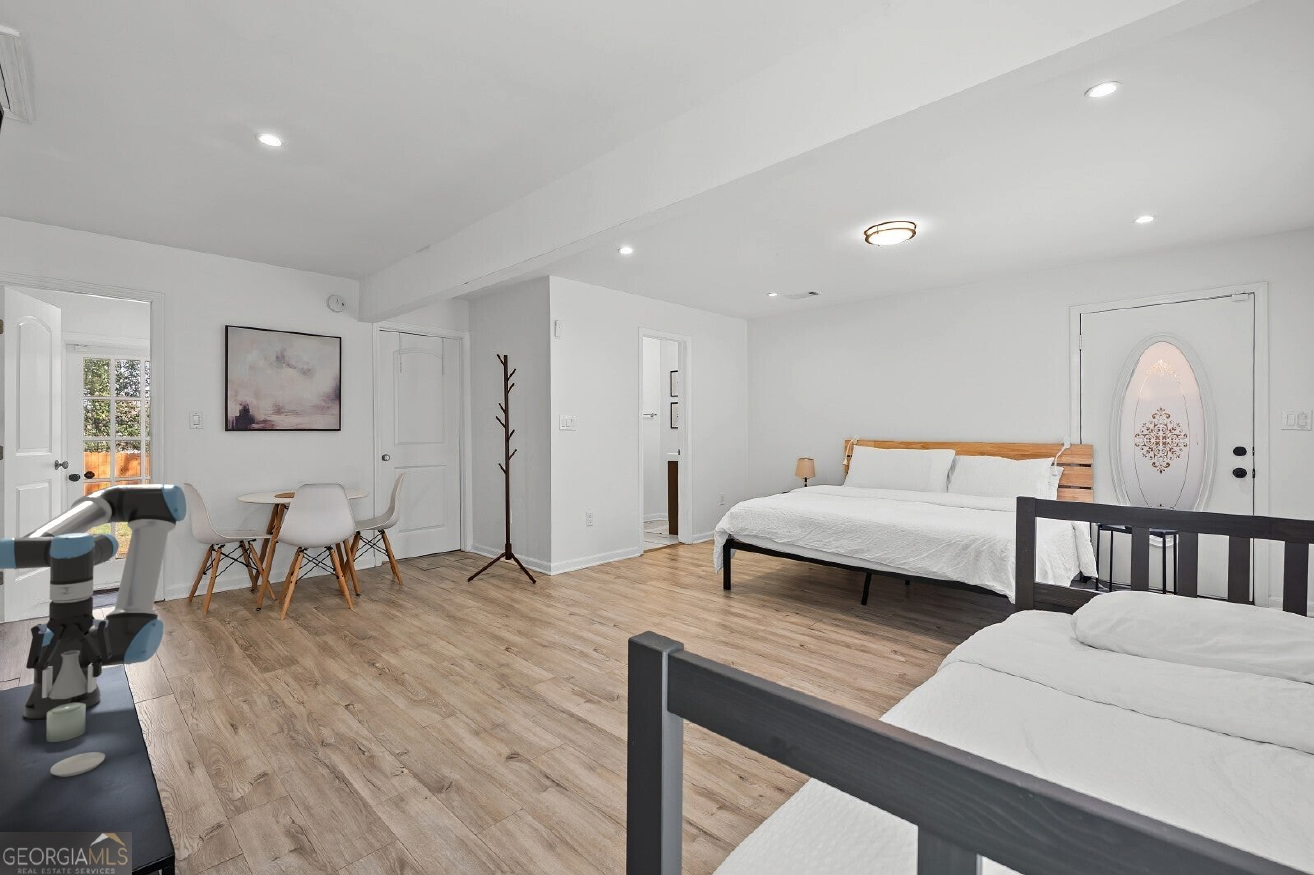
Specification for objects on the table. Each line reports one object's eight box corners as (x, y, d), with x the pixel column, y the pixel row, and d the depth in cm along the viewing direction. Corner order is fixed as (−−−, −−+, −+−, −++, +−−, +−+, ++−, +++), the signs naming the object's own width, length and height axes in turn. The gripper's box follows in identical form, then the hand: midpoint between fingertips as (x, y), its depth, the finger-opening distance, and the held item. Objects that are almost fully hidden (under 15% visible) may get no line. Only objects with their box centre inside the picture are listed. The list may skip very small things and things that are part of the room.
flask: (64, 702, 140) (64, 660, 140) (40, 698, 142) (40, 656, 142) (98, 689, 147) (99, 649, 147) (75, 686, 149) (76, 646, 149)
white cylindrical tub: (54, 731, 153) (55, 703, 153) (90, 726, 156) (90, 699, 156) (40, 744, 147) (41, 715, 147) (77, 739, 150) (78, 710, 150)
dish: (61, 761, 140) (62, 756, 140) (111, 754, 143) (111, 749, 143) (41, 782, 132) (41, 777, 132) (94, 774, 135) (95, 768, 135)
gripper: (5, 607, 137) (3, 706, 137) (119, 599, 145) (117, 692, 145) (23, 598, 143) (21, 693, 144) (131, 591, 152) (129, 680, 152)
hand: (69, 692), depth 145 cm, fingers closed on flask, 7 cm apart
